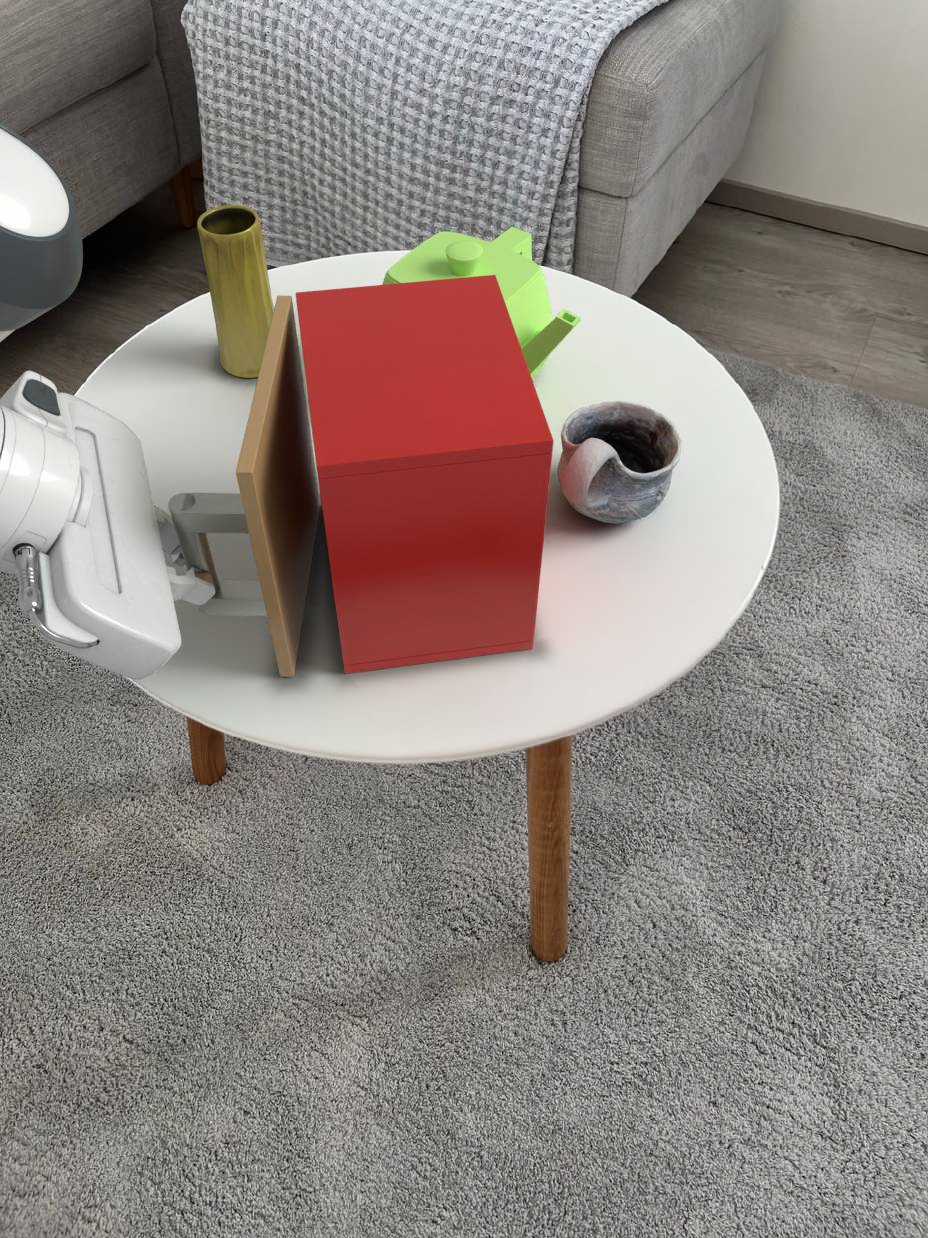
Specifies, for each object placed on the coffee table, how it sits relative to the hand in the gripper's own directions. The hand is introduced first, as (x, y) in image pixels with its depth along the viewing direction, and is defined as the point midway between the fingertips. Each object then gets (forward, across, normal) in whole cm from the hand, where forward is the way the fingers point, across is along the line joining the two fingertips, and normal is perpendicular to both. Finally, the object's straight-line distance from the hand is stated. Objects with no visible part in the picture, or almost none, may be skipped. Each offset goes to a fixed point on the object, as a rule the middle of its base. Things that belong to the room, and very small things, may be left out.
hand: (204, 573), depth 69 cm
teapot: (+26, +24, -15) cm, 38 cm away
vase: (+13, +34, 0) cm, 36 cm away
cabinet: (+17, +2, -6) cm, 18 cm away
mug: (+28, +4, -18) cm, 34 cm away
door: (+9, +5, +2) cm, 11 cm away
